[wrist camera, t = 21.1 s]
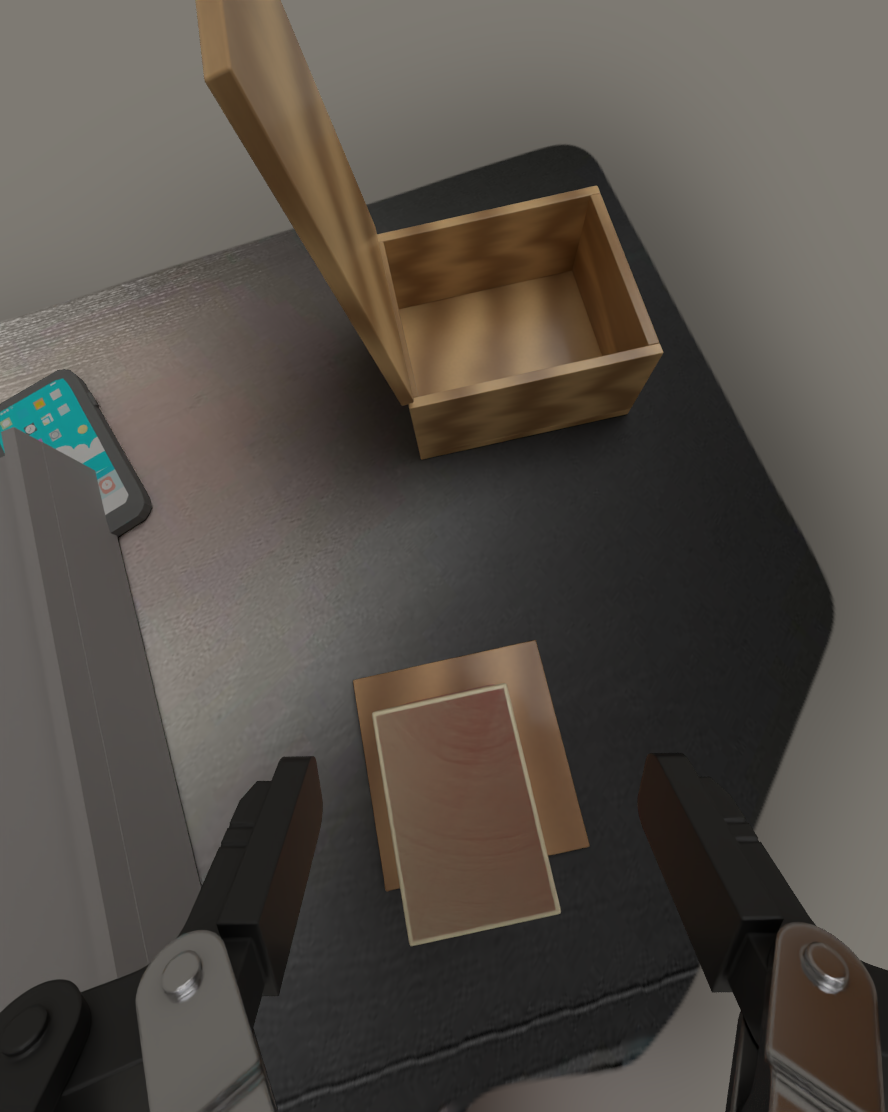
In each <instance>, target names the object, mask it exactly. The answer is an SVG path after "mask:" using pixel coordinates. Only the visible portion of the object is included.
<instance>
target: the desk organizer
mask: <svg viewBox="0 0 888 1112" xmlns="http://www.w3.org/2000/svg"><path fill="white" fill-rule="evenodd" d="M1 435H2V441H3V446H4V452H5V456H3V457H1V458H0V1012H1V1011H2V1010H3V1009H4V1008H5V1007H7V1006H8V1005H9V1004H10V1003H11V1002H12V1001H13V1000H15V999H16V998H17V997H19V996H20V995H21V994H23V993H24V992H26V991H28V990H29V989H31V988H33V987H35V986H37V985H39V984H41V983H44V982H47V981H50V980H56V979H65V980H69V981H71V982H73V983H74V984H75V985H76V986H77V987H78V988H79V990H80V992H83V991H85V990H88V989H91V988H93V987H96V986H99V985H101V984H104V983H107V982H109V981H112V980H115V979H118V978H120V977H123V976H126V975H128V974H131V973H133V972H135V971H138V970H140V969H141V968H143V967H145V966H146V965H148V964H149V963H151V961H152V960H153V958H154V957H155V956H156V955H157V954H158V953H159V952H160V951H161V950H162V949H163V948H164V947H165V946H166V945H167V944H169V943H170V942H171V941H173V940H174V939H176V938H177V936H178V935H179V933H180V932H181V930H182V929H183V927H184V925H185V923H186V921H187V919H188V917H189V915H190V912H191V910H192V908H193V905H194V903H195V901H196V899H197V896H198V894H199V892H200V890H201V886H200V881H199V877H198V873H197V869H196V865H195V860H194V856H193V852H192V848H191V844H190V840H189V835H188V831H187V827H186V823H185V819H184V814H183V810H182V806H181V802H180V798H179V793H178V789H177V785H176V781H175V777H174V773H173V768H172V764H171V760H170V756H169V752H168V747H167V743H166V739H165V735H164V731H163V726H162V722H161V718H160V714H159V710H158V706H157V701H156V697H155V693H154V689H153V685H152V680H151V676H150V672H149V668H148V664H147V659H146V655H145V651H144V647H143V643H142V639H141V634H140V630H139V626H138V622H137V618H136V613H135V609H134V605H133V601H132V597H131V592H130V588H129V584H128V580H127V576H126V572H125V567H124V563H123V559H122V555H121V551H120V546H119V542H118V538H117V535H114V534H112V533H110V530H109V527H108V524H107V520H106V516H105V512H104V507H103V503H102V498H101V494H100V490H99V485H98V481H97V476H96V472H95V470H93V469H91V468H89V467H88V466H86V465H84V464H82V463H80V462H78V461H76V460H75V459H73V458H71V457H69V456H67V455H65V454H64V453H62V452H60V451H58V450H56V449H54V448H53V447H51V446H49V445H47V444H45V443H43V442H41V441H39V440H37V439H35V438H33V437H31V436H30V435H28V434H26V433H24V432H22V431H20V430H18V429H17V428H15V427H12V428H10V429H7V430H5V431H2V432H1Z"/></svg>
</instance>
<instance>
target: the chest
mask: <svg viewBox="0 0 888 1112" xmlns="http://www.w3.org/2000/svg"><path fill="white" fill-rule="evenodd" d="M377 237H378V242H379V246H380V251H381V255H382V260H383V264H384V269H385V273H386V277H387V282H388V286H389V291H390V295H391V300H392V304H393V309H394V313H395V318H396V322H397V327H398V331H399V336H400V340H401V345H402V349H403V354H404V358H405V363H406V367H407V371H408V376H409V380H410V385H411V389H412V394H413V398H414V402H413V403H410V404H408V406H409V410H410V414H411V419H412V423H413V427H414V431H415V436H416V440H417V444H418V448H419V453H420V457H421V460H422V459H427V458H431V457H436V456H440V455H445V454H449V453H454V452H458V451H463V450H467V449H472V448H476V447H481V446H485V445H490V444H494V443H499V442H503V441H508V440H512V439H517V438H521V437H526V436H530V435H535V434H539V433H544V432H548V431H553V430H558V429H562V428H567V427H571V426H576V425H580V424H585V423H589V422H594V421H598V420H603V419H607V418H612V417H616V416H621V415H625V414H628V412H629V411H630V408H631V407H632V405H633V404H634V402H635V400H636V399H637V397H638V395H639V393H640V392H641V390H642V388H643V387H644V385H645V383H646V381H647V380H648V378H649V376H650V375H651V373H652V371H653V369H654V368H655V366H656V364H657V363H658V361H659V359H660V357H661V356H662V354H663V350H662V348H661V345H660V344H659V340H658V338H657V335H656V333H655V330H654V328H653V325H652V323H651V320H650V318H649V315H648V313H647V310H646V308H645V305H644V303H643V300H642V298H641V295H640V292H639V290H638V287H637V285H636V282H635V280H634V277H633V275H632V272H631V270H630V267H629V265H628V262H627V260H626V257H625V255H624V252H623V250H622V247H621V244H620V242H619V239H618V237H617V234H616V232H615V229H614V227H613V224H612V222H611V219H610V217H609V214H608V212H607V209H606V207H605V204H604V202H603V199H602V196H601V194H600V191H599V189H598V186H593V187H589V188H584V189H580V190H575V191H571V192H566V193H562V194H557V195H553V196H548V197H544V198H539V199H535V200H530V201H526V202H521V203H517V204H512V205H508V206H503V207H499V208H494V209H490V210H485V211H481V212H476V213H472V214H467V215H463V216H458V217H454V218H450V219H445V220H441V221H436V222H432V223H427V224H423V225H418V226H414V227H409V228H405V229H400V230H396V231H391V232H387V233H382V234H378V235H377Z"/></svg>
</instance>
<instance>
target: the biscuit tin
mask: <svg viewBox="0 0 888 1112" xmlns="http://www.w3.org/2000/svg"><path fill="white" fill-rule="evenodd" d="M372 718H373V724H374V730H375V737H376V743H377V749H378V755H379V761H380V767H381V773H382V779H383V786H384V792H385V798H386V804H387V810H388V816H389V822H390V829H391V835H392V841H393V847H394V853H395V859H396V865H397V871H398V878H399V884H400V890H401V896H402V902H403V908H404V914H405V920H406V927H407V933H408V939H409V944H410V946H415V945H420V944H424V943H429V942H433V941H438V940H442V939H447V938H452V937H456V936H461V935H465V934H470V933H474V932H479V931H484V930H488V929H493V928H497V927H502V926H506V925H511V924H516V923H520V922H525V921H529V920H534V919H538V918H543V917H547V916H552V915H557V914H560V913H561V909H560V905H559V901H558V896H557V892H556V888H555V884H554V880H553V875H552V871H551V867H550V863H549V859H548V855H547V850H546V846H545V842H544V838H543V834H542V829H541V825H540V821H539V817H538V813H537V809H536V804H535V800H534V796H533V792H532V788H531V783H530V779H529V775H528V771H527V767H526V763H525V758H524V754H523V750H522V746H521V742H520V737H519V733H518V729H517V725H516V721H515V717H514V712H513V708H512V704H511V700H510V696H509V691H508V687H507V684H505V683H502V684H497V685H495V684H490V685H486V686H481V687H476V688H472V689H467V690H463V691H458V692H454V693H449V694H445V695H440V696H436V697H431V698H427V699H422V700H417V701H413V702H409V703H406V704H403V705H401V706H397V707H393V708H388V709H384V710H379V711H375V712H373V713H372Z"/></svg>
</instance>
